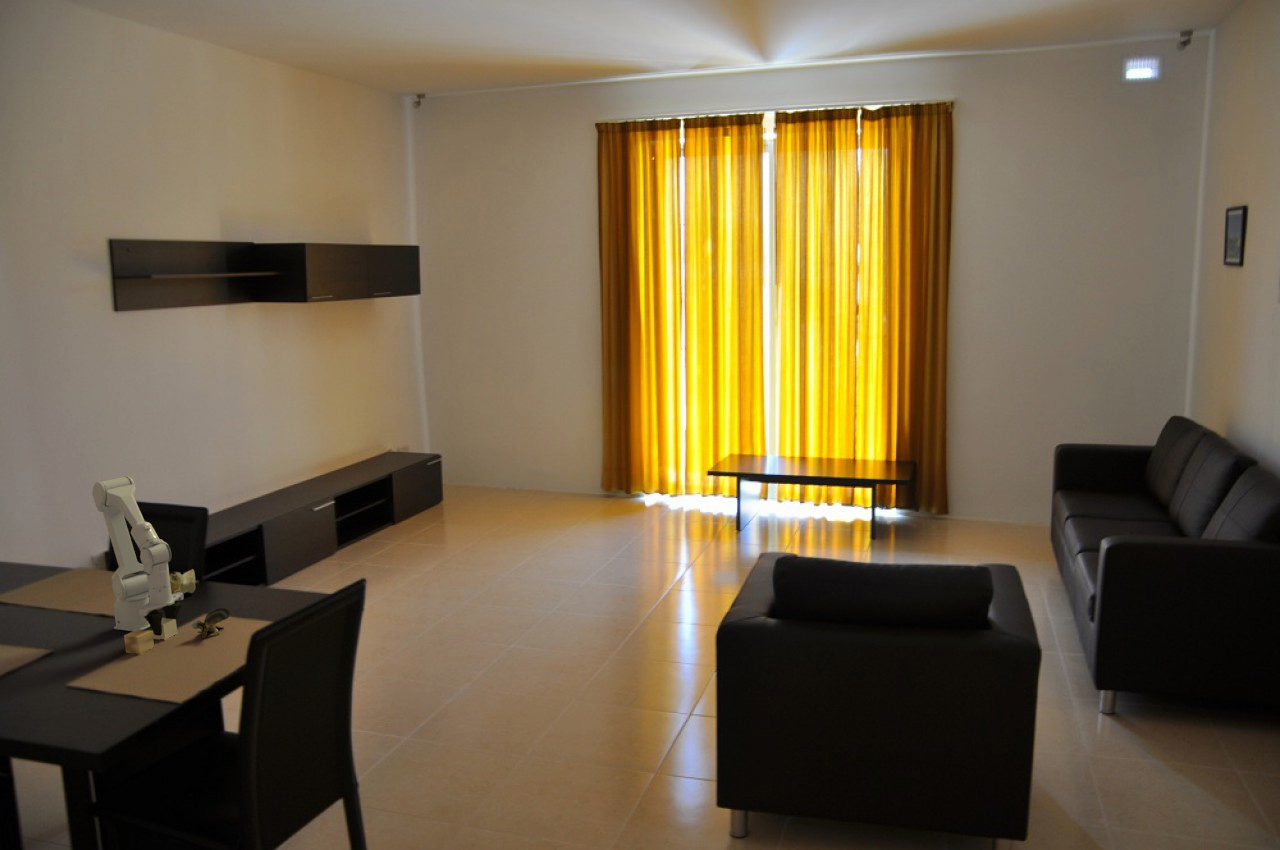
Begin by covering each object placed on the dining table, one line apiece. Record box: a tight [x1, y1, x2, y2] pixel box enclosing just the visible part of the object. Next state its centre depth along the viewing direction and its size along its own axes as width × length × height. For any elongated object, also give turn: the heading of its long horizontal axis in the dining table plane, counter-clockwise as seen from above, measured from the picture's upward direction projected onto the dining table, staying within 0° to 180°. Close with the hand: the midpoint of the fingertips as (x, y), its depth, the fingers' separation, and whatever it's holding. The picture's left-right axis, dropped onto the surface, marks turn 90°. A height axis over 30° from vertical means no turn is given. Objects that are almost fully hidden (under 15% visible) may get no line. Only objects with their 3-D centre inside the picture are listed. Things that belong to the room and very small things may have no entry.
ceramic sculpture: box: [169, 568, 196, 595], centre depth 330 cm, size 11×9×15 cm
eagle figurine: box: [191, 607, 231, 640], centre depth 298 cm, size 8×8×10 cm
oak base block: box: [123, 629, 155, 655], centre depth 287 cm, size 5×5×5 cm
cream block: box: [151, 617, 178, 641], centre depth 297 cm, size 4×4×4 cm
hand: (164, 631), depth 297 cm, fingers closed on cream block, 4 cm apart
